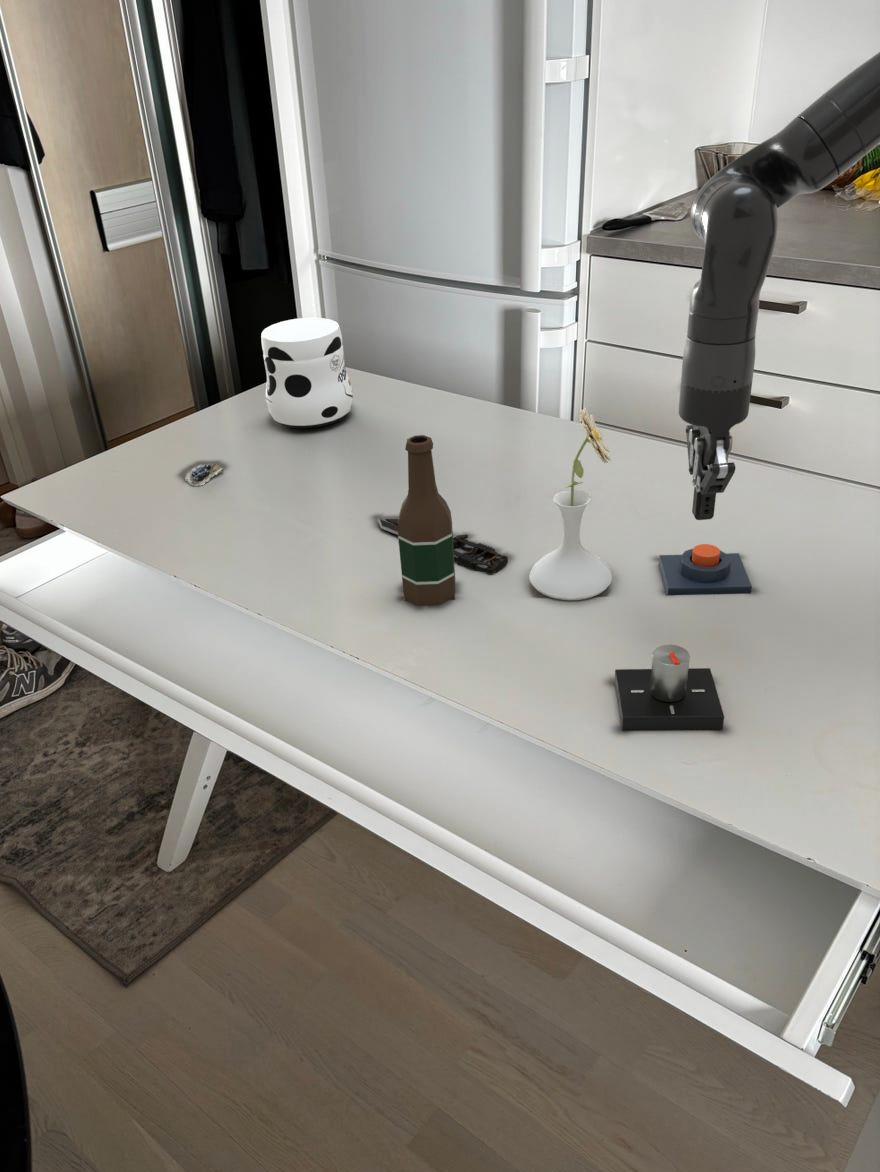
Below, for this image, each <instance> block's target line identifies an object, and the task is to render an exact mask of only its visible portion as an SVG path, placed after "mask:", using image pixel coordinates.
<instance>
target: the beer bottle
mask: <svg viewBox="0 0 880 1172" xmlns="http://www.w3.org/2000/svg"><path fill="white" fill-rule="evenodd" d="M433 449H434V441H433V439H432V437H430V436H427V435H425V434H420V435H413V436H411V437H409V438H407V439H406V442H405V451H407V466H408V467H407V474H408V475H407V476H408V477H407V479H408V480H407V481H408V486H407V487H408V490H407V495H406V497H405V498H404V500H403V501H402V503H401V507H400V510H399V515H398V519H399V520H398V525H397V526H398V535H397V537H398V548H399V549H398V550H399V559H400V572H401V581H402V582H401V583H402V593H403V598H404V602H410V603H412V604H414V605H416V606H418V607H423V606H424V607H428V606H429V607H430V606H441V605H442V604H445V603H447V602H448V601H455V600H456V567H455V565H456V564H455V561H454V557H455V555H454V551H455V548H454V547H453V538H454V532H453V529H454V528H453V520H452V511H451V509H450V507H449V505H448V503H447V500H446V499H445V498H443V496H442V495H441V494H440V493H439V490H438V487H437V482H436V475H435V468H434V459H433V452H432V450H433Z"/></svg>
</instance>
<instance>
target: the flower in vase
mask: <svg viewBox="0 0 880 1172" xmlns="http://www.w3.org/2000/svg"><path fill="white" fill-rule="evenodd" d="M579 415H580V416H579V417H580V420H581V424H582V427H583V429H584V431H585V434H586V436H585V438H584V440H583V442H582V443H581V446H580V448H579V450H578V451H577V454H576V456H575V458H574V459H573V462H572V463H573V464H572V471H571V482H570V484H567V485H565V486H564V487H563V489H566V488H570V489H568V490H561V491H559V492H557V493H555V494H554V496H553V499H552V500H553V502H554V504H555V505H556V506H557V507H558V509H559V511H560V514H561V518H562V519H561V520H562V528H563V529H562V531H563V532H562V533H563V535H562V542H561V544H560V545H559V547H558V548H556V549H554V550H553V551H550V552H548V554H544V555H543V556H542V557H541V558H540V559H538V560H537V561H536V562H535V563H533V566H532V567H531V570H530V572H529V582H530V583H531V585H532V586H533V588H535V590H536V591H537V592H539V593H540V594H542V595H544V596H546V597H548V598H552V599H555V600H562V601H581V600H586V599H591V598H593V597H596V596H598V595H600V594H601V593H603V592H604V591H605V590H606V589H607V588H608V587H609V586H610V585H611V583H612V580H613V574H612V571H611V568H610V567H609V565H608V564H607V563H606V562H605V561H604V560H603V559H602V558H601V557H599V556H598V555H596V554H594V553H593V552H592V551H590V550H588V549H586V548H585V547H584V546H583V545H582V543H581V526H582V525H581V524H582V519H583V515H584V512H585V510H586V508H587V506H589V505H590V503H591V502H592V496H591V494H590V493H588V492H587V491H583V490H578V489H575V486H577V485H580V484H583V483H584V481H575V475H576V476H577V477H578V478H579V479H582V478H583V477H584V467H583V465H582V462H581V460H579V457H580V456H581V453H582V451H583V449H584V448H585V447H586V444H587V443H589V444H591V446H592V449H593V451H594V452H595V454H596V455H597V456H598V457H599V459H600V460H601V461H602V463H603V464H607V463H609V461H612V458H611V456H610V455H609V453H610V452H611V451H610V448H609V446H608V445H607V444H606V443H605V440H604V439H603V437H604V433H603V431H602V430H601V429H599V428H598V427H597V424H596V421H595V417H594V416H593V414H589V412H588V410H587V408H586V407H584V408H583V409H581V408H580V409H579Z"/></svg>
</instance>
